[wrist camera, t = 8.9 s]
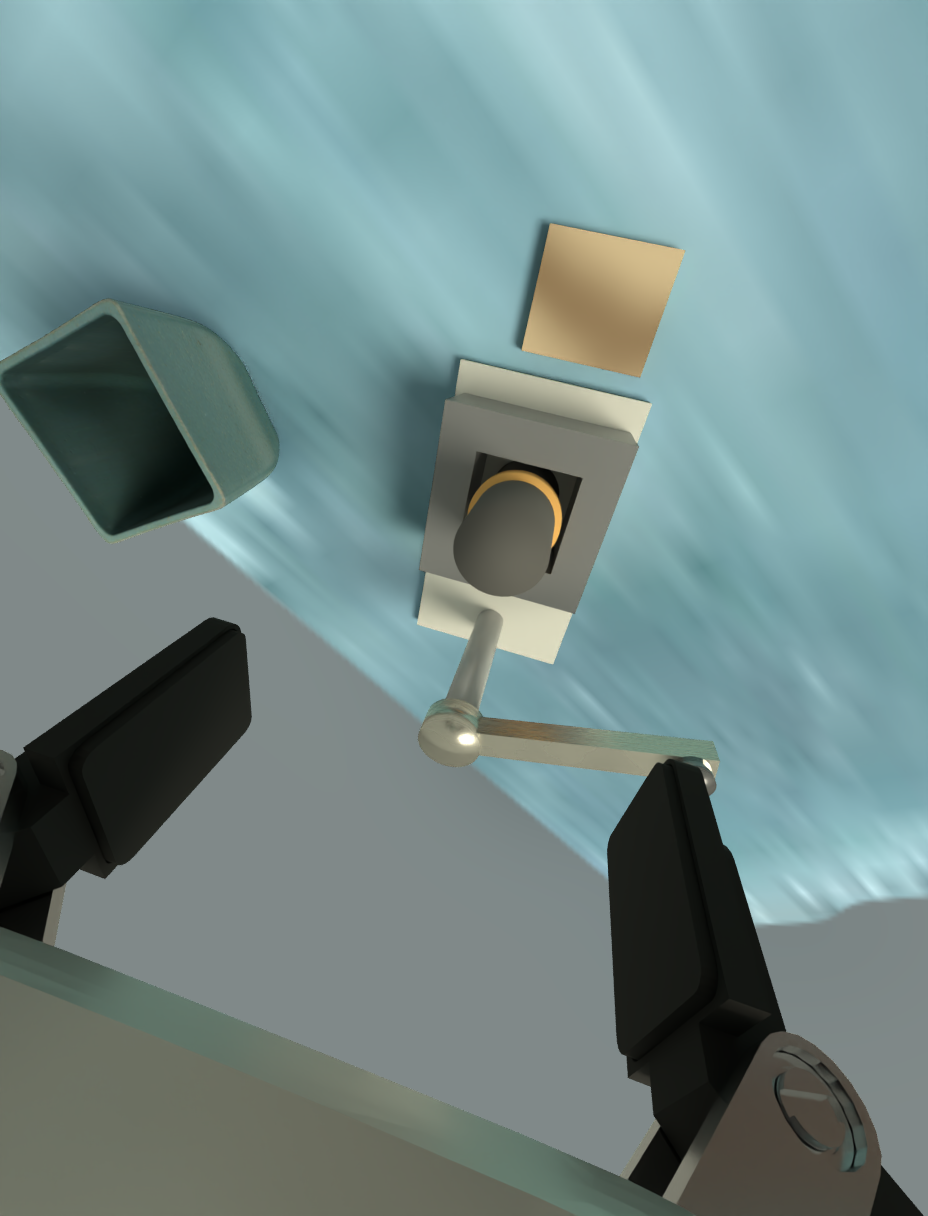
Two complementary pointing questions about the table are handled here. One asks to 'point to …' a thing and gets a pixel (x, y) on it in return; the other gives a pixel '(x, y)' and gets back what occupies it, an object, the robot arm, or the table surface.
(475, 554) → the plug
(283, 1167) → the robot arm
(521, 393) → the socket plate
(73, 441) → the flower pot
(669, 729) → the table surface
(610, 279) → the cork mat
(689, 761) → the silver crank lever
